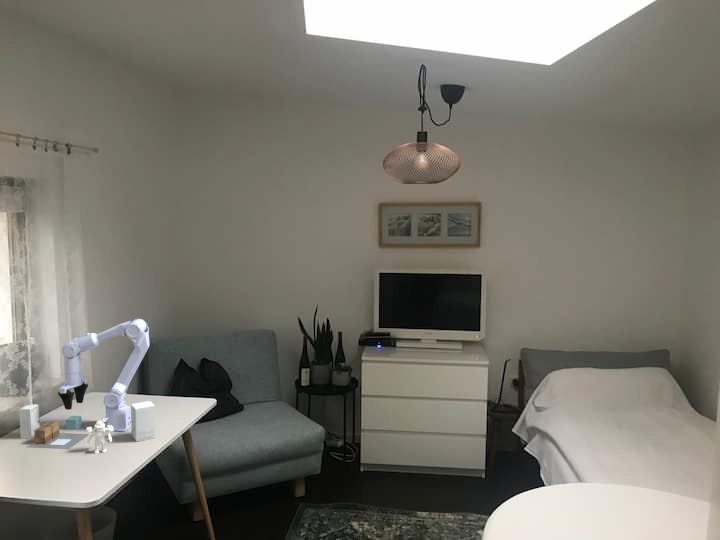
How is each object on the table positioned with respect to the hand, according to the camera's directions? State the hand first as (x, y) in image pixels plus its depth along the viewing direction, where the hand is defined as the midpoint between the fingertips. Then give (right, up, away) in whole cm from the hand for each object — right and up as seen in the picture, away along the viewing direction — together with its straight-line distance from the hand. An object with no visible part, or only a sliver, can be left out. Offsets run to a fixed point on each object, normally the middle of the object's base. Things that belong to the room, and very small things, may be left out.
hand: (74, 406), depth 224 cm
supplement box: (+30, -11, -6) cm, 32 cm away
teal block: (0, -10, 0) cm, 10 cm away
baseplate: (+1, -11, -13) cm, 17 cm away
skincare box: (-12, -10, -8) cm, 18 cm away
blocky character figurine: (+19, -12, -20) cm, 30 cm away
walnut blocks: (-4, -10, -12) cm, 16 cm away
